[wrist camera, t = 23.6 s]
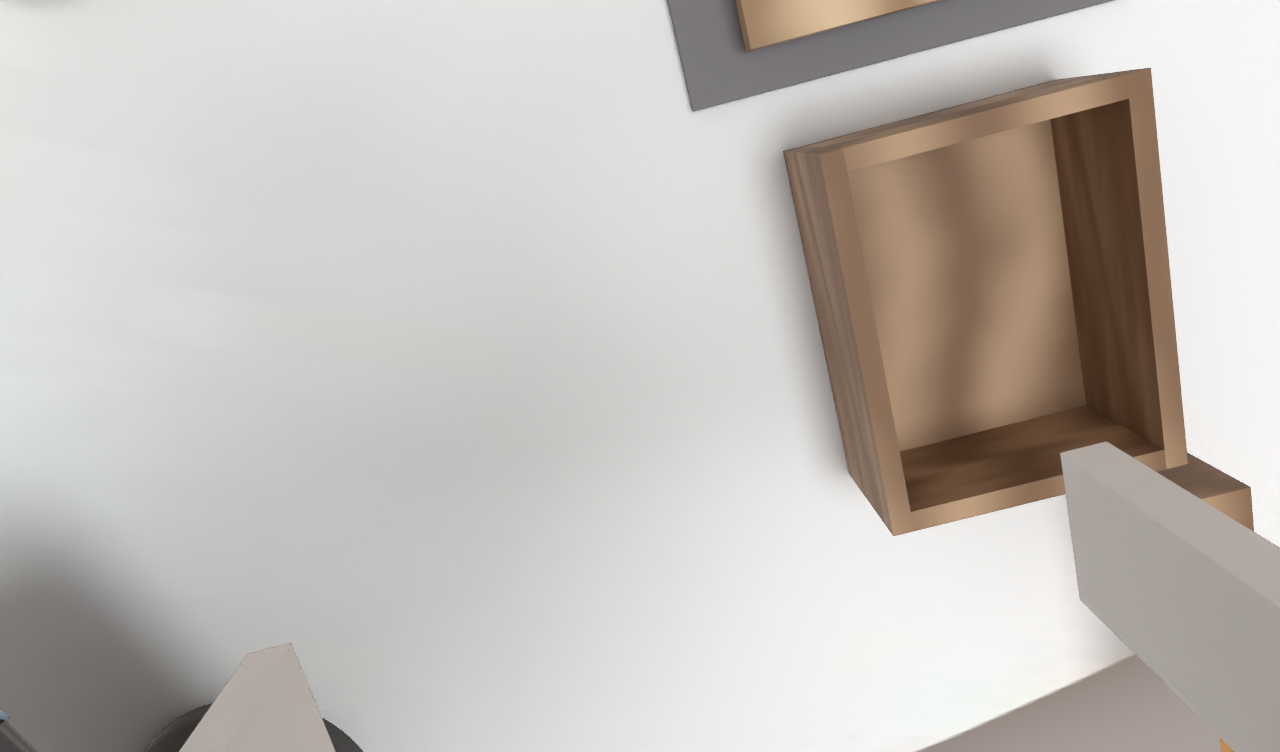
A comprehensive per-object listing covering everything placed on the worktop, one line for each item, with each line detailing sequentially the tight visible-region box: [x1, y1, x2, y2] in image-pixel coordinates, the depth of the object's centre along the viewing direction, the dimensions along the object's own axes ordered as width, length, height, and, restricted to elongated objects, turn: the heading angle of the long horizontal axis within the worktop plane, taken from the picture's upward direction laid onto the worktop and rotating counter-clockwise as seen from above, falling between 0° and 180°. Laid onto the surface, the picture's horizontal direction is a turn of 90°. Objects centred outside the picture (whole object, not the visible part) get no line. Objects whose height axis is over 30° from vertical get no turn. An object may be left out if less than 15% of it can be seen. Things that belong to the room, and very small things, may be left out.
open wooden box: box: [783, 68, 1254, 536], centre depth 43 cm, size 16×26×10 cm, turn 14°
